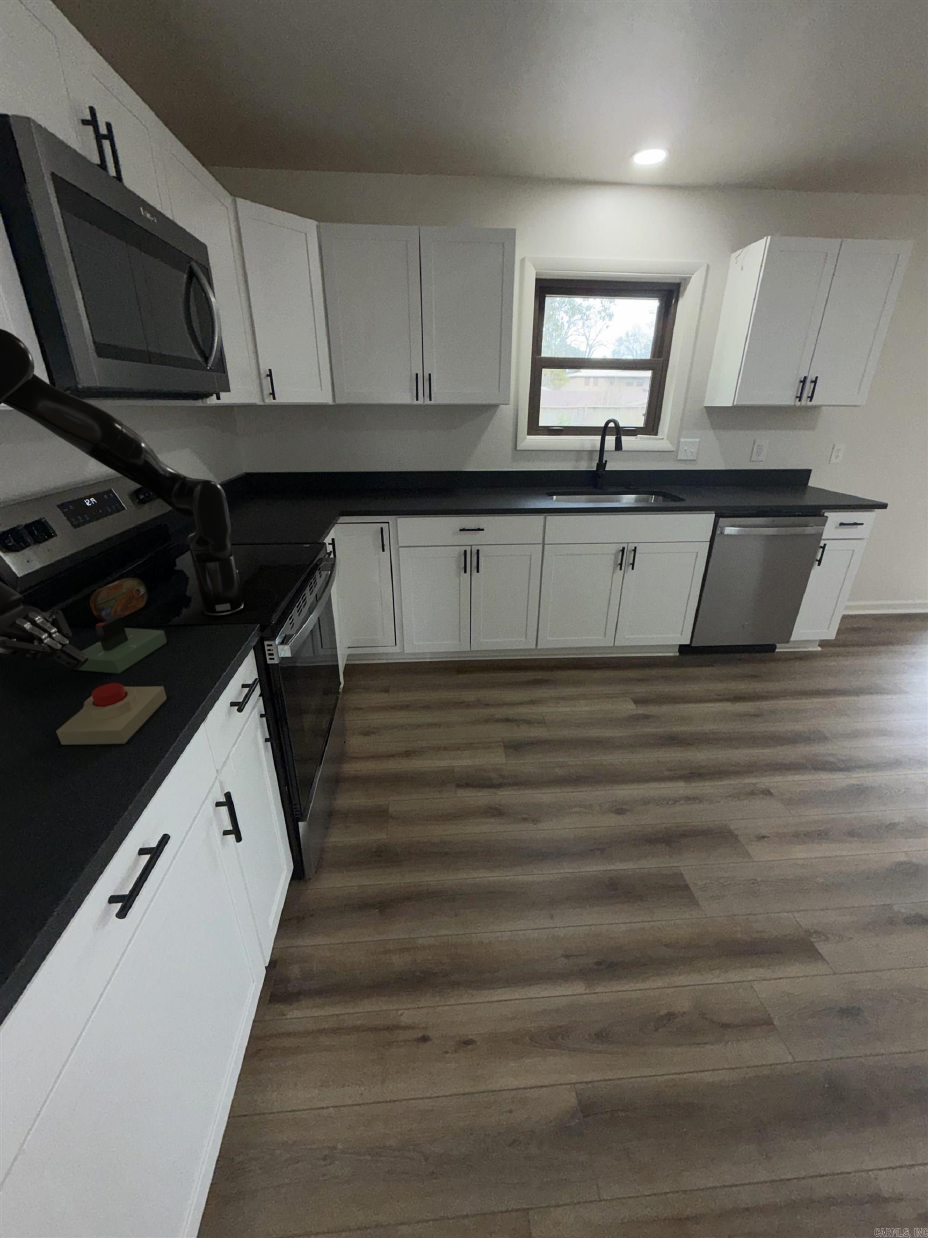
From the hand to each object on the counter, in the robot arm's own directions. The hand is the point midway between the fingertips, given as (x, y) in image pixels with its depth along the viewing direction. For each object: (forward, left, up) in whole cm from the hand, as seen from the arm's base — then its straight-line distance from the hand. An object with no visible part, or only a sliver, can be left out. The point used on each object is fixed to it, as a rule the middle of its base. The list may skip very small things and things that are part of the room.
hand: (83, 664), depth 80 cm
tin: (-41, -32, -11) cm, 53 cm away
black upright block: (-20, -15, -8) cm, 26 cm away
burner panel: (-21, -15, -11) cm, 28 cm away
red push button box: (0, +2, -11) cm, 11 cm away
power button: (0, +2, -7) cm, 7 cm away
